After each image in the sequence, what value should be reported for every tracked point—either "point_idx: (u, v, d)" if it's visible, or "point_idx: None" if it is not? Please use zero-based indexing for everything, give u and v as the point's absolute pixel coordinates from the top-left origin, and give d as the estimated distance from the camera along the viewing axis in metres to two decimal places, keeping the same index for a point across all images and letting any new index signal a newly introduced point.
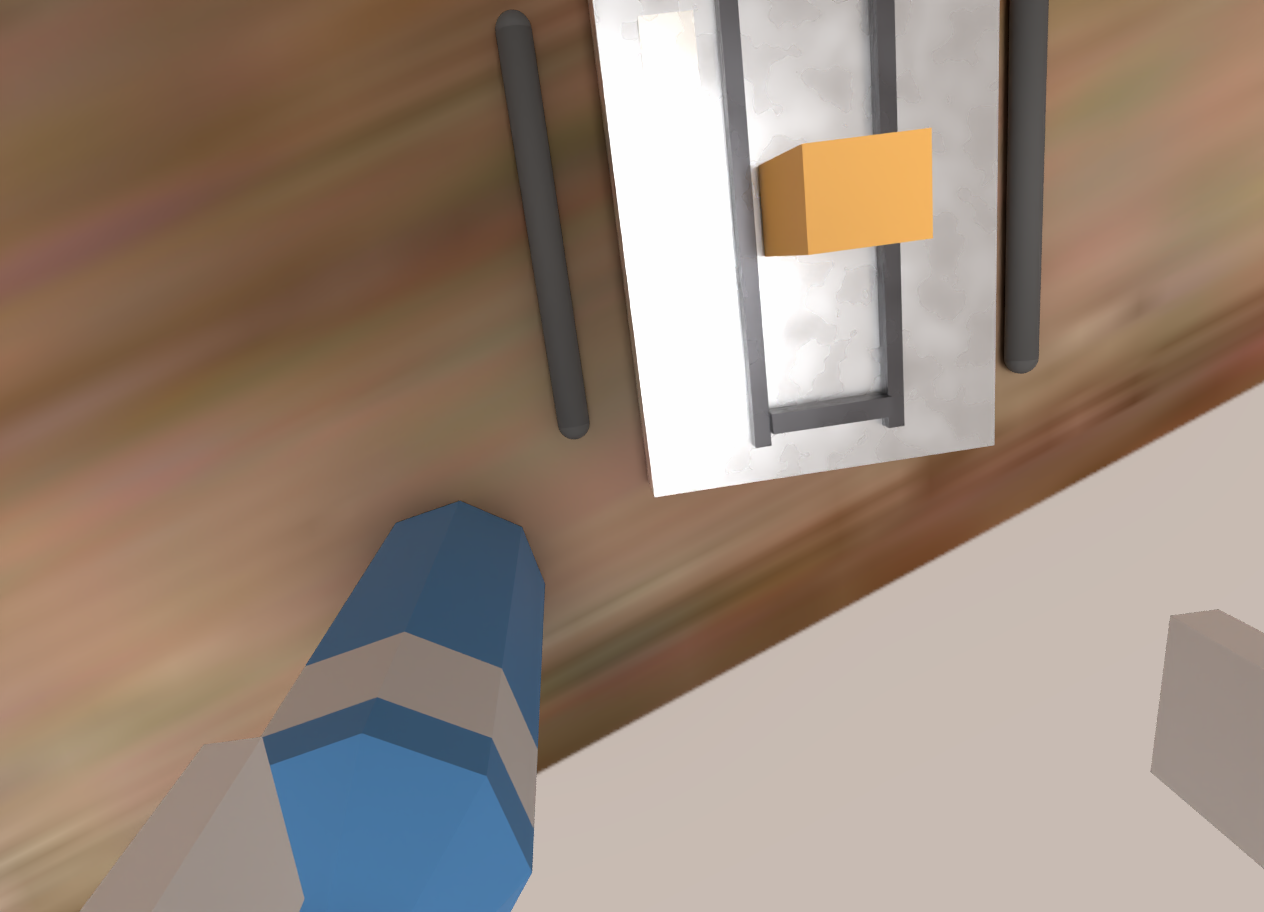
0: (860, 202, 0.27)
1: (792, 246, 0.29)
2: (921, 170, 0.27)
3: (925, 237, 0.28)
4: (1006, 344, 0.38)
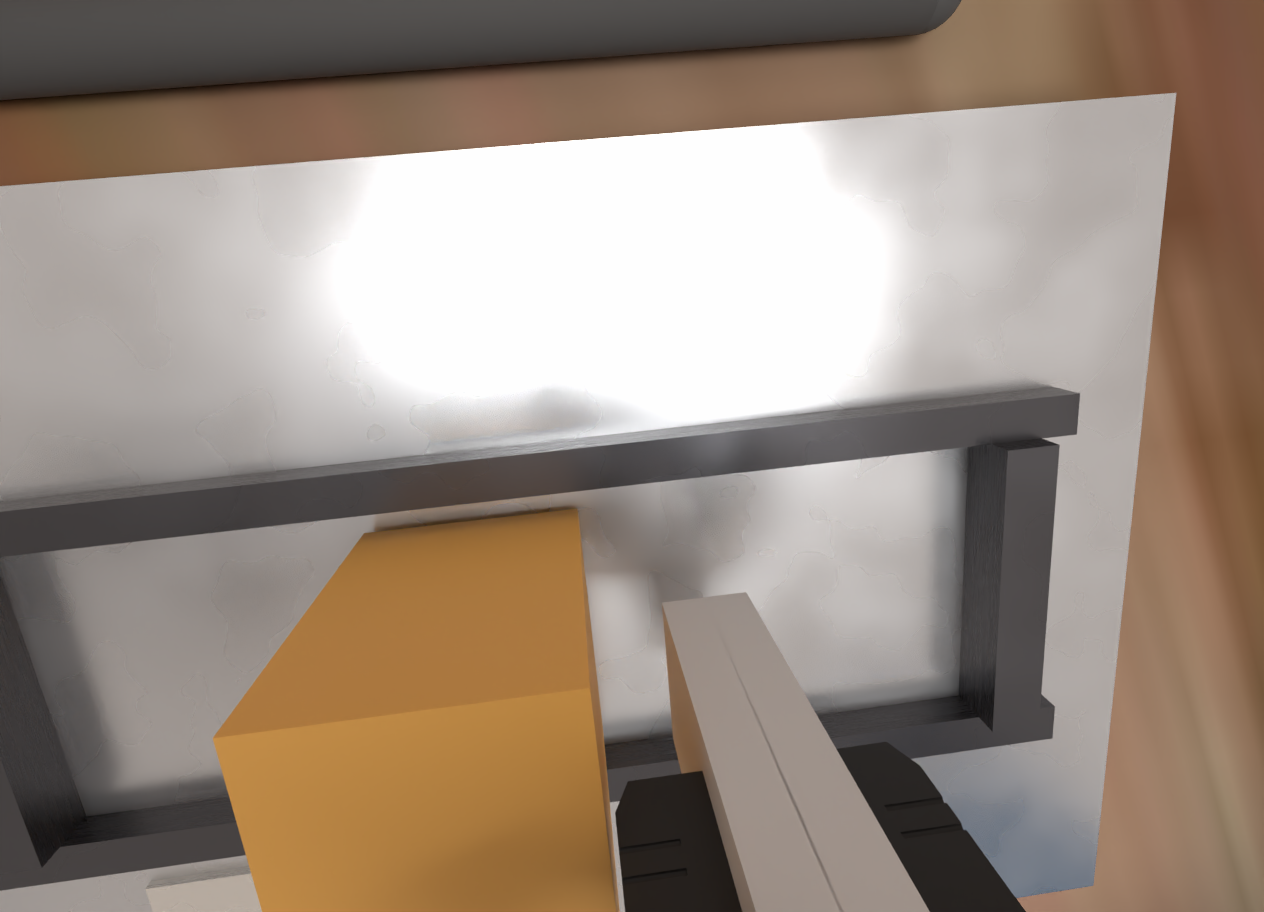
0: None
1: None
2: (361, 753, 0.08)
3: (586, 713, 0.08)
4: (876, 36, 0.14)
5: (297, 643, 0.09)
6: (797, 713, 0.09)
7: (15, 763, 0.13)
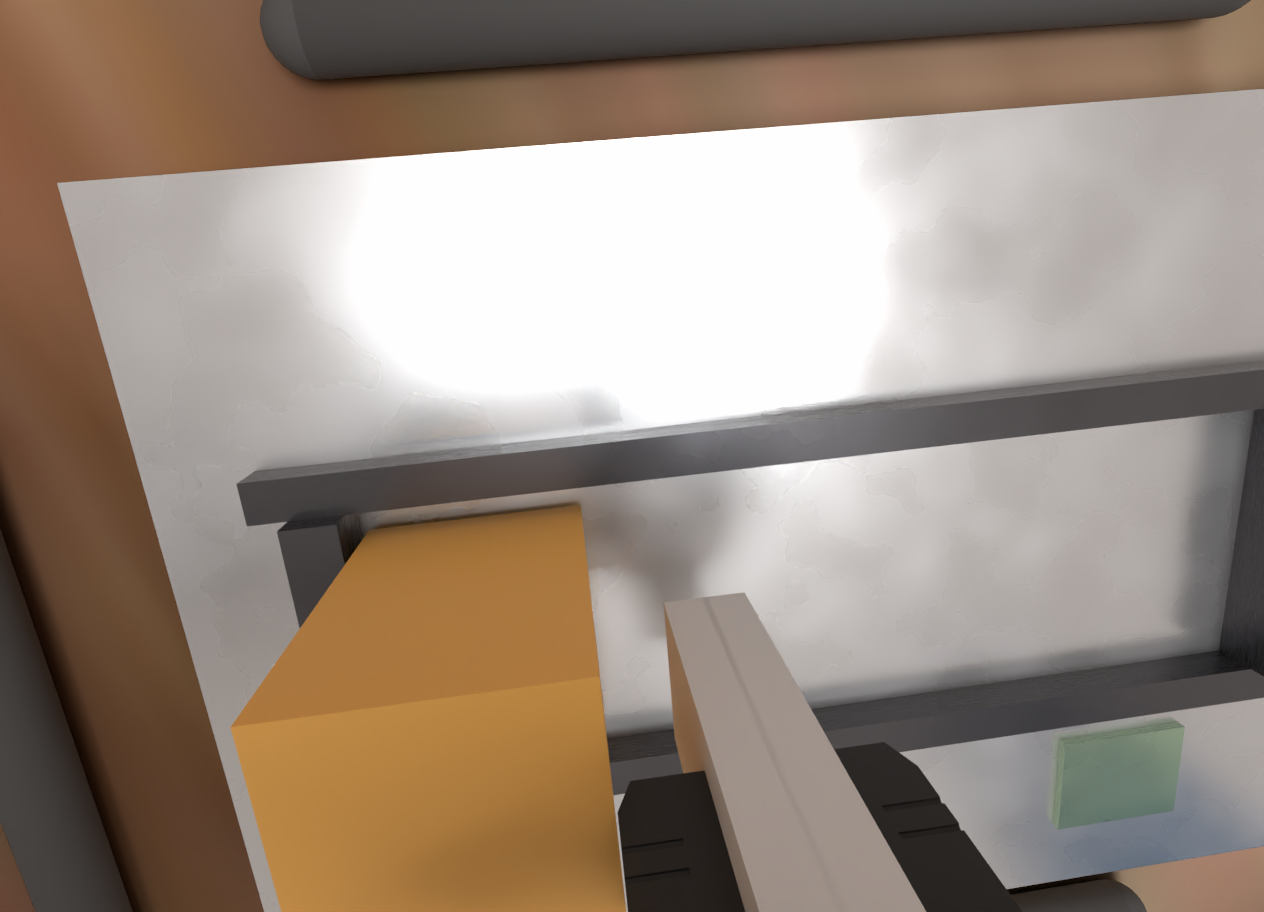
0: (486, 901, 0.09)
1: None
2: (375, 741, 0.08)
3: (596, 701, 0.08)
4: (1176, 19, 0.15)
5: (309, 636, 0.10)
6: (794, 714, 0.09)
7: None
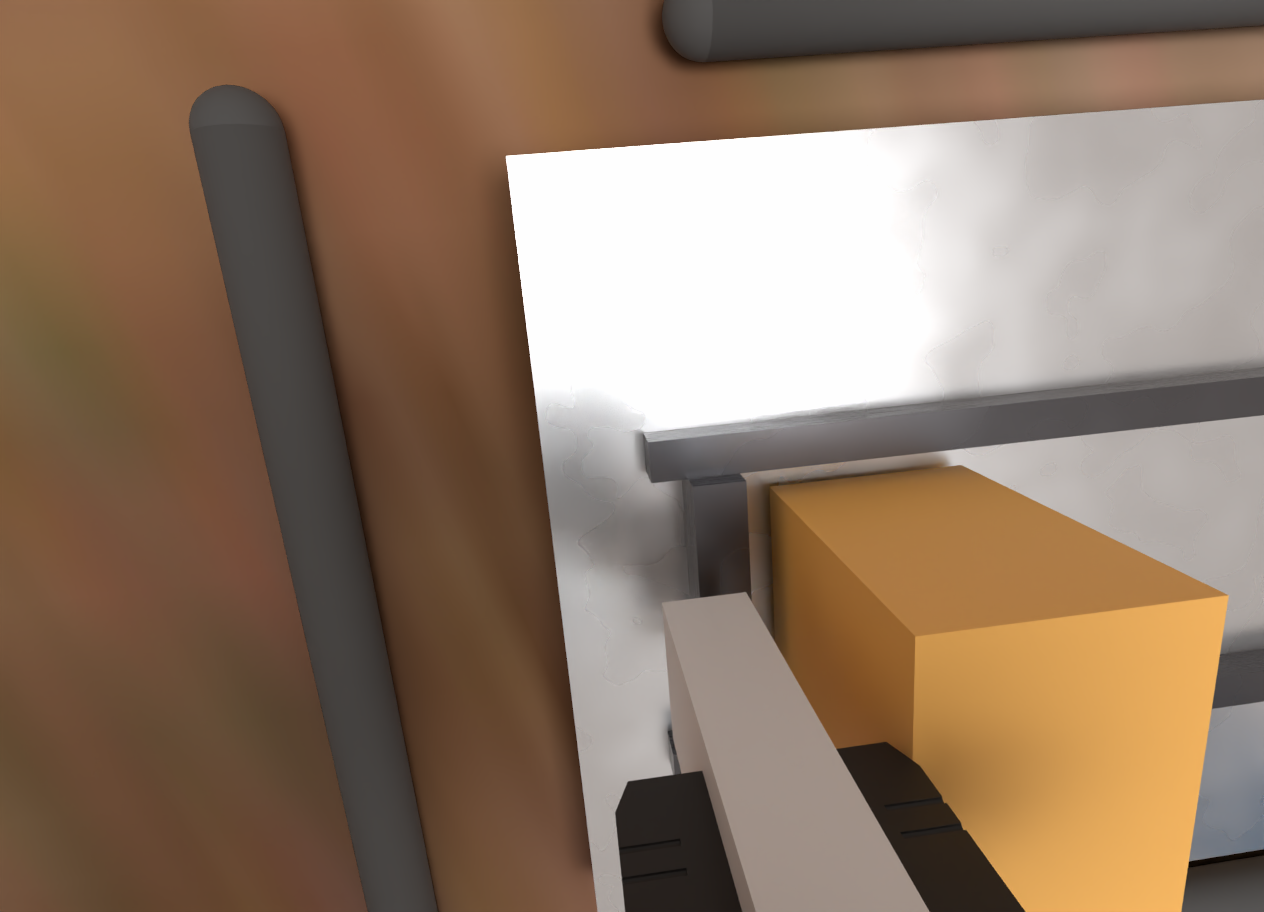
0: (1081, 806, 0.09)
1: None
2: (1030, 652, 0.09)
3: (1220, 618, 0.09)
4: None
5: (864, 568, 0.10)
6: (797, 713, 0.09)
7: None
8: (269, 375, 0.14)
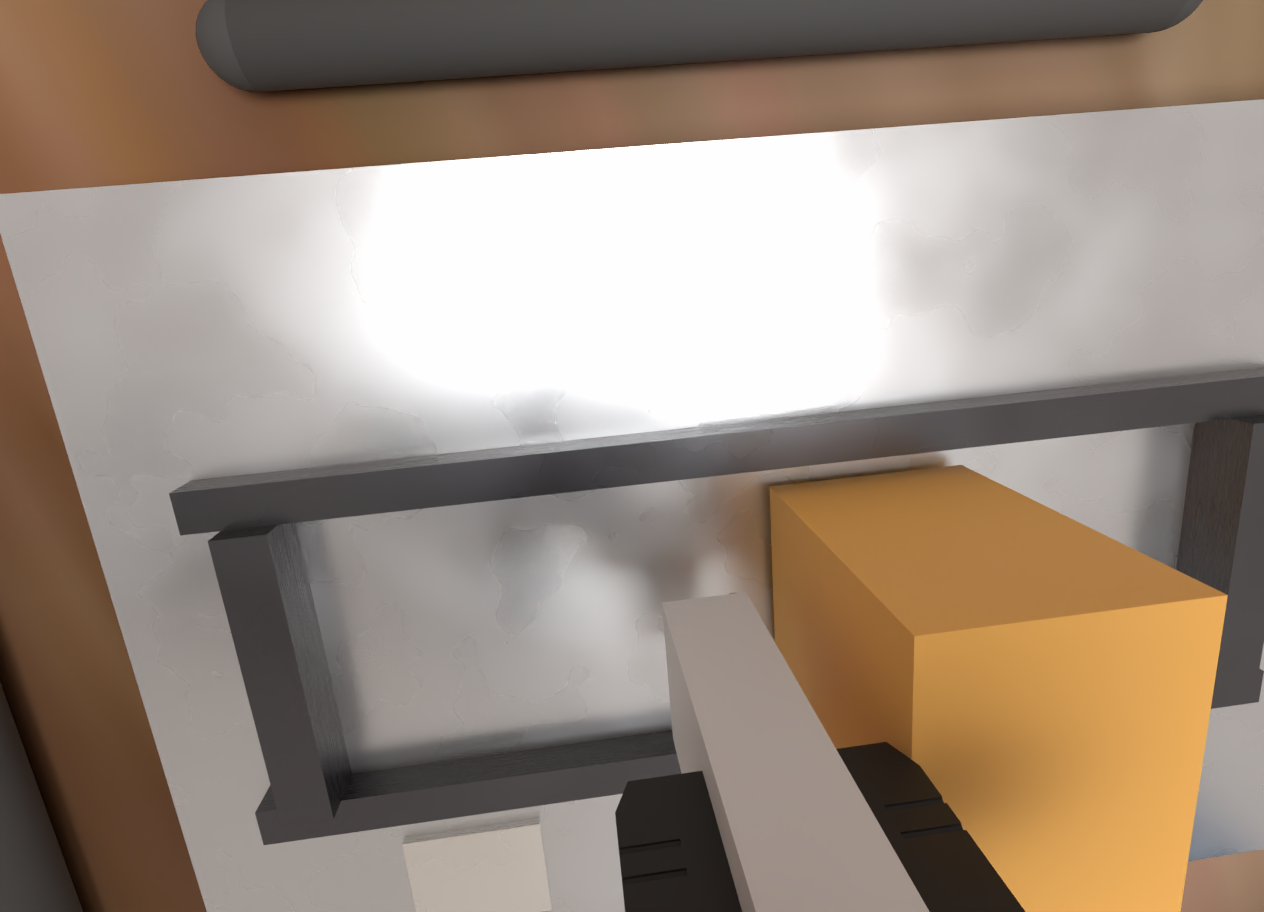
0: (1081, 806, 0.09)
1: None
2: (1029, 652, 0.09)
3: (1219, 618, 0.09)
4: (1116, 33, 0.15)
5: (864, 568, 0.10)
6: (796, 714, 0.09)
7: (316, 718, 0.14)
8: None
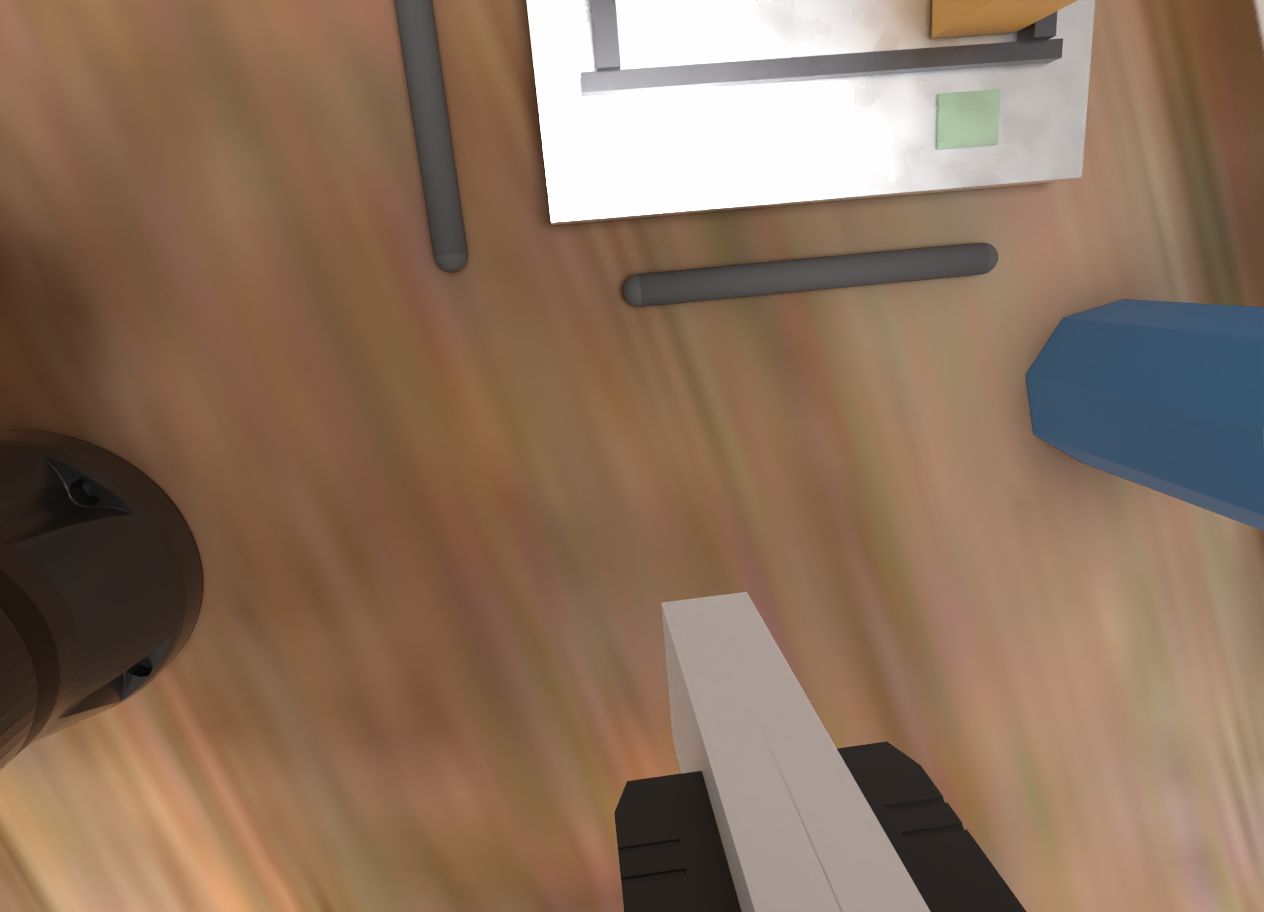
0: None
1: (1070, 0, 0.29)
2: None
3: None
4: None
5: None
6: (797, 713, 0.09)
7: (615, 12, 0.30)
8: None
